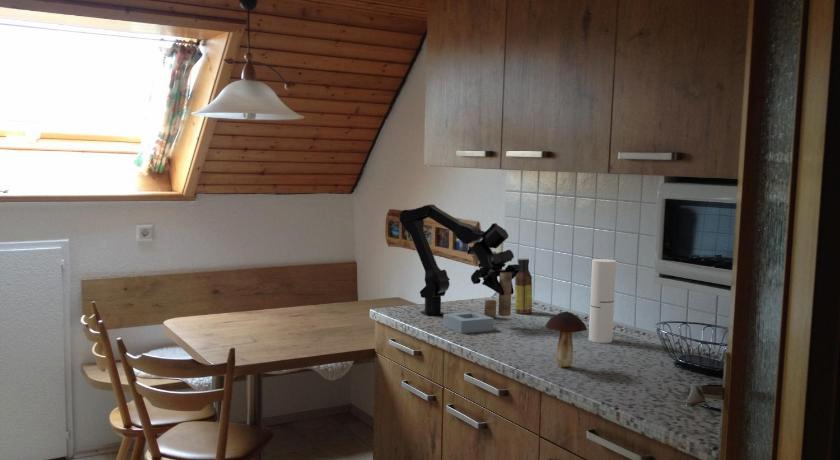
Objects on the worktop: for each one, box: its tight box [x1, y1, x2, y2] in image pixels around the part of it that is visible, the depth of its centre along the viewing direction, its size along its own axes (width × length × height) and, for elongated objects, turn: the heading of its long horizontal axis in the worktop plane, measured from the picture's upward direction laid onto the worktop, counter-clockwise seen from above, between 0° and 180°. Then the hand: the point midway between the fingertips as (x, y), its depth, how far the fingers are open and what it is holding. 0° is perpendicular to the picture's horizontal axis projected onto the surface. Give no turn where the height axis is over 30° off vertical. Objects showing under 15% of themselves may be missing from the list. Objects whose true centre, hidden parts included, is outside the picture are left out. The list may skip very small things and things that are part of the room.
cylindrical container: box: [588, 258, 617, 344], centre depth 235 cm, size 7×7×25 cm
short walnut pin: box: [483, 299, 497, 319], centre depth 267 cm, size 4×4×6 cm
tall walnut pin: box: [497, 272, 513, 317], centre depth 251 cm, size 4×4×14 cm
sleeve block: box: [442, 311, 495, 334], centre depth 249 cm, size 12×12×4 cm
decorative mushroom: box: [545, 311, 588, 368], centre depth 203 cm, size 11×11×15 cm
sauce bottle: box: [514, 257, 533, 315], centre depth 276 cm, size 7×6×20 cm
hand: (508, 294), depth 250 cm, fingers closed on tall walnut pin, 4 cm apart
